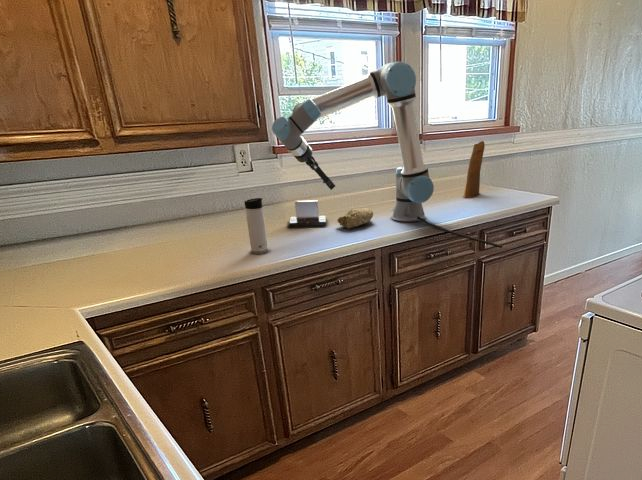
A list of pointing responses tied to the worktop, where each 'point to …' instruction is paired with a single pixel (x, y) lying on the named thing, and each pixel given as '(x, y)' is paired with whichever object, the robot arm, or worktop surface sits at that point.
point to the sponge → (355, 217)
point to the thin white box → (307, 210)
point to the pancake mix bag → (474, 171)
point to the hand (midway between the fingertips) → (325, 178)
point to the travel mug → (256, 226)
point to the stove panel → (308, 222)
